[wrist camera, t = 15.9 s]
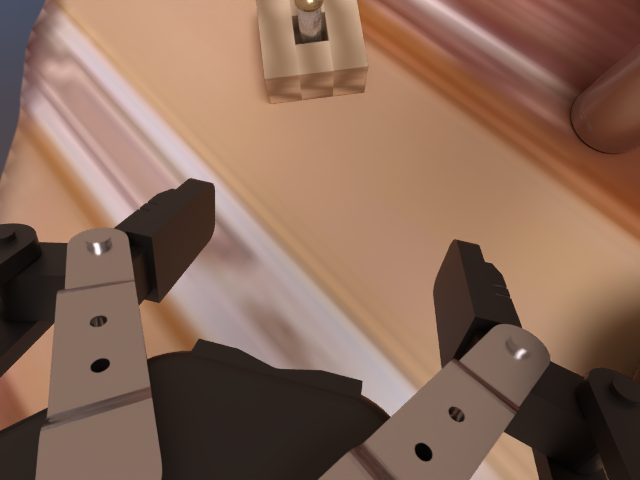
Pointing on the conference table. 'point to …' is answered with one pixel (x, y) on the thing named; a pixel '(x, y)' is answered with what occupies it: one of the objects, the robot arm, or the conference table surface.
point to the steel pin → (309, 20)
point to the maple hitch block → (311, 51)
